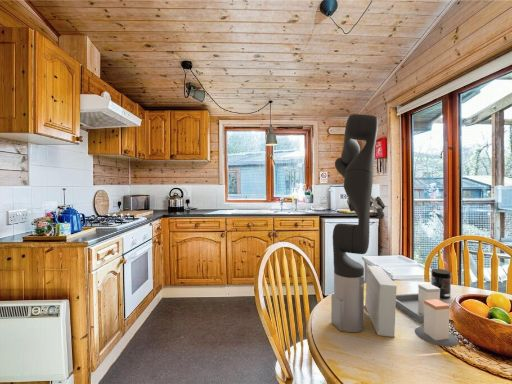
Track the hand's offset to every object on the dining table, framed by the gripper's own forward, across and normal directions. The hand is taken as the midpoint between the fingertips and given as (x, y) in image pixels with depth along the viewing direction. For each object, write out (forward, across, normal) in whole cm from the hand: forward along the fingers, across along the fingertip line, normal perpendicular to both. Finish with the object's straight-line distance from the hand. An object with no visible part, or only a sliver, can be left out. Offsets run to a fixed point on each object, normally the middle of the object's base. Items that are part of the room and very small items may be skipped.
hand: (372, 218), depth 111 cm
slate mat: (+43, +5, +3) cm, 43 cm away
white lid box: (+34, +12, +12) cm, 38 cm away
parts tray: (+31, +12, +15) cm, 37 cm away
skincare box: (+35, -6, +12) cm, 37 cm away
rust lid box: (+43, +5, +3) cm, 43 cm away
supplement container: (+24, +29, +22) cm, 44 cm away
